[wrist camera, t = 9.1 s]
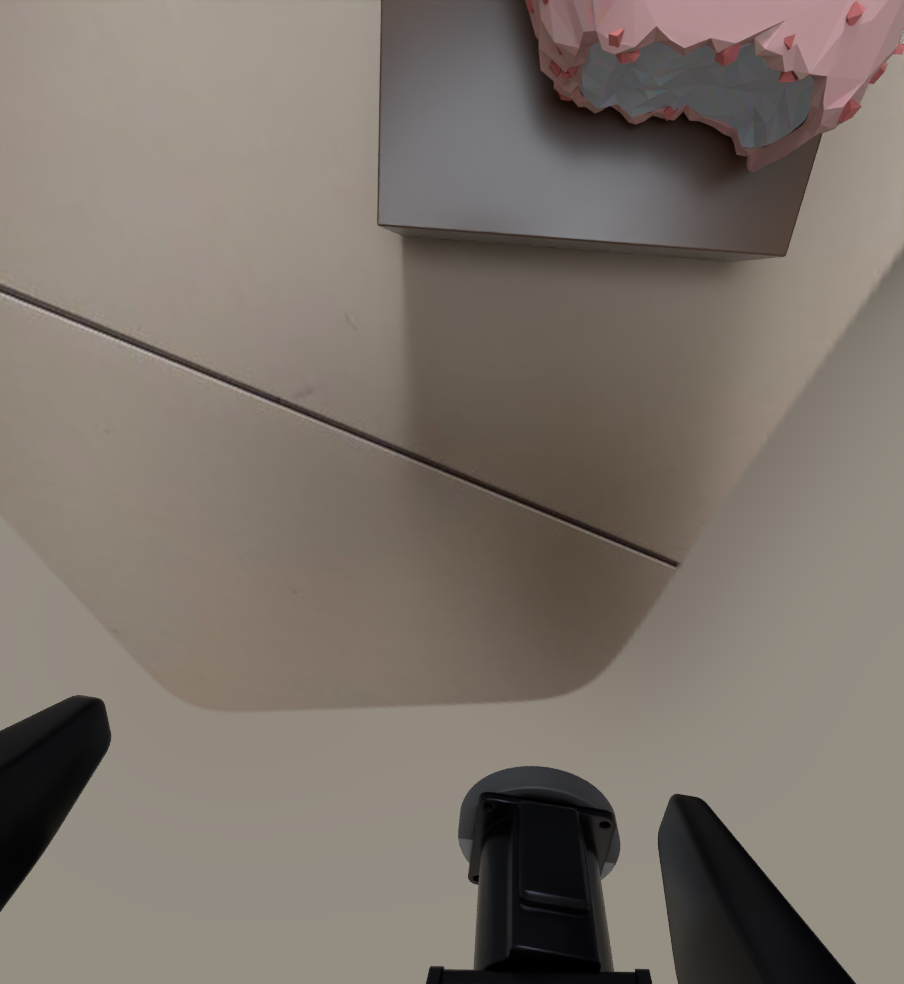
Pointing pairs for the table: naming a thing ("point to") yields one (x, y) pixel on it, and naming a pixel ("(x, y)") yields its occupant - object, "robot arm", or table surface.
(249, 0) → the table surface
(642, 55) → the ice cream bar
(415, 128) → the shelf
